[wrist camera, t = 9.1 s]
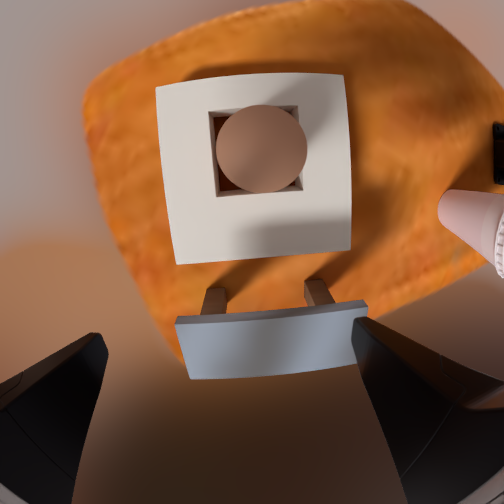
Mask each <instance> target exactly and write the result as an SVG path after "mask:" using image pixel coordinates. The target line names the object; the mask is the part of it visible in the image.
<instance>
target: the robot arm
mask: <svg viewBox="0 0 504 504" xmlns="http://www.w3.org/2000/svg"><path fill="white" fill-rule="evenodd" d="M493 134H494V181H495V183H496V184H499V185H504V126H502V125H500V124H493ZM351 343H352V347H353V350H354V353H355V357H356V360H357V364H358V367H359V371H360V374H361V378H362V380H363V383H364V386H365V388H366V390H367V393H368V395H369V398H370V400H371V403H372V405H373V408H374V410H375V412H376V415H377V418H378V420H379V423H380V425H381V428H382V431H383V433H384V436H385V438H386V441H387V444H388V447H389V449H390V452H391V455H392V457H393V460H394V463H395V466H396V469H397V472H398V474H399V477H400V478H401V479H400V481H401V484H402V487H403V490H404V493H405V496H406V499H407V502H408V504H504V381H503V380H499V379H497V378H494V377H492V376H489V375H487V374H484V373H482V372H479V371H476V370H474V369H471V368H469V367H467V366H464V365H462V364H460V363H457V362H455V361H453V360H451V359H449V358H447V357H445V356H443V355H440V354H439V353H437V352H435V351H433V350H431V349H429V348H427V347H425V346H423V345H421V344H419V343H417V342H415V341H413V340H411V339H409V338H408V337H406V336H404V335H402V334H400V333H398V332H396V331H394V330H392V329H390V328H388V327H386V326H384V325H382V324H380V323H378V322H376V321H374V320H372V319H370V318H368V317H366V316H362V317H356V318H355V319H354V320H353V326H352V334H351ZM108 355H109V354H108V349H107V347H106V344H105V342H104V340H103V337H102V335H101V334H100V333H93V332H92V333H89V334H87V335H85V336H83V337H82V338H80V339H78V340H77V341H75V342H73V343H71V344H69V345H67V346H66V347H64V348H62V349H61V350H59V351H57V352H56V353H54V354H52V355H50V356H48V357H47V358H45V359H43V360H41V361H40V362H38V363H36V364H35V365H33V366H31V367H29V368H28V369H26V370H24V372H23V371H22V372H21V373H19V374H17V375H15V376H14V377H12V378H10V379H8V380H6V381H5V382H3V383H1V384H0V504H71V502H72V497H73V492H74V486H75V480H76V476H77V472H78V467H79V462H80V459H81V455H82V451H83V447H84V443H85V439H86V436H87V432H88V428H89V425H90V422H91V418H92V415H93V411H94V408H95V405H96V402H97V399H98V396H99V393H100V389H101V385H102V381H103V377H104V372H105V368H106V364H107V360H108Z"/></svg>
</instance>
